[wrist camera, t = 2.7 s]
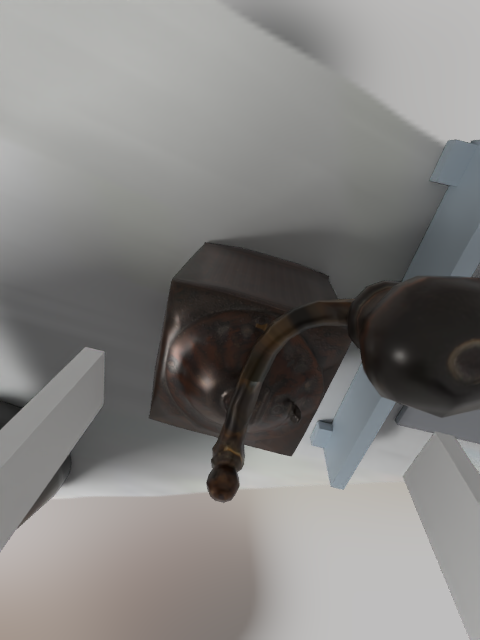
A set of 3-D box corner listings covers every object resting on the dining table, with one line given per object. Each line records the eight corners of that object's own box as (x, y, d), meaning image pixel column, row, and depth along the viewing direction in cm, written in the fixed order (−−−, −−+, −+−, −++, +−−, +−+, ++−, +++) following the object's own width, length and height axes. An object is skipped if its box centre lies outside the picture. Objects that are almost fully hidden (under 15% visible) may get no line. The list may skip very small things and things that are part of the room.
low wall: (309, 439, 32) (315, 483, 28) (450, 135, 20) (503, 127, 15) (346, 447, 33) (358, 492, 28) (510, 150, 20) (580, 147, 15)
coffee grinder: (294, 378, 29) (326, 638, 13) (180, 347, 29) (68, 580, 13) (366, 210, 22) (623, 332, 6) (216, 166, 22) (70, 175, 6)
